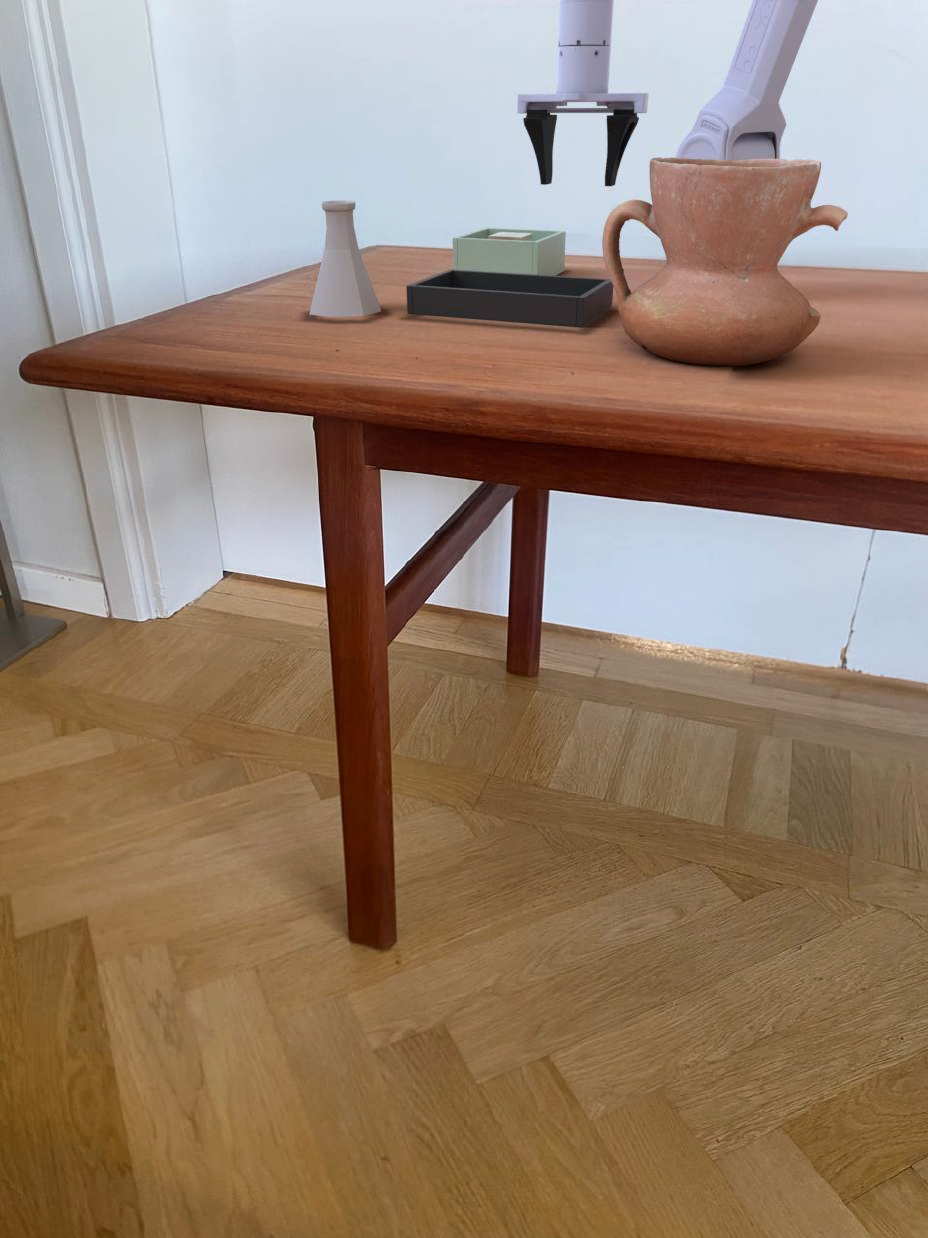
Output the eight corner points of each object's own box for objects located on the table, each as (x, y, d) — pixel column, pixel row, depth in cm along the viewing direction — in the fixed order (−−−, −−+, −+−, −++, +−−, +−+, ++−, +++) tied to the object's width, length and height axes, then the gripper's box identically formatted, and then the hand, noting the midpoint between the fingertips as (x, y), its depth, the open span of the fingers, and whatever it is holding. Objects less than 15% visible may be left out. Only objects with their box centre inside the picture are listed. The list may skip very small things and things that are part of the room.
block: (531, 269, 110) (532, 232, 108) (520, 274, 106) (521, 237, 104) (499, 267, 111) (500, 231, 109) (487, 272, 108) (488, 235, 106)
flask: (371, 323, 86) (365, 206, 81) (297, 320, 87) (286, 205, 82) (391, 308, 92) (387, 198, 87) (322, 306, 93) (314, 197, 88)
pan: (611, 311, 90) (614, 279, 89) (582, 332, 82) (584, 297, 81) (449, 299, 96) (449, 269, 95) (407, 318, 88) (406, 285, 86)
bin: (564, 271, 111) (565, 230, 109) (536, 285, 103) (538, 241, 101) (485, 266, 115) (485, 227, 113) (452, 279, 107) (452, 237, 104)
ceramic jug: (835, 347, 76) (870, 155, 70) (802, 390, 65) (840, 167, 58) (626, 327, 84) (640, 151, 77) (565, 362, 73) (574, 161, 66)
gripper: (509, 46, 100) (506, 185, 106) (641, 43, 95) (631, 189, 102) (530, 49, 105) (527, 181, 112) (656, 46, 101) (645, 184, 107)
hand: (577, 184), depth 107 cm, fingers open, 7 cm apart
